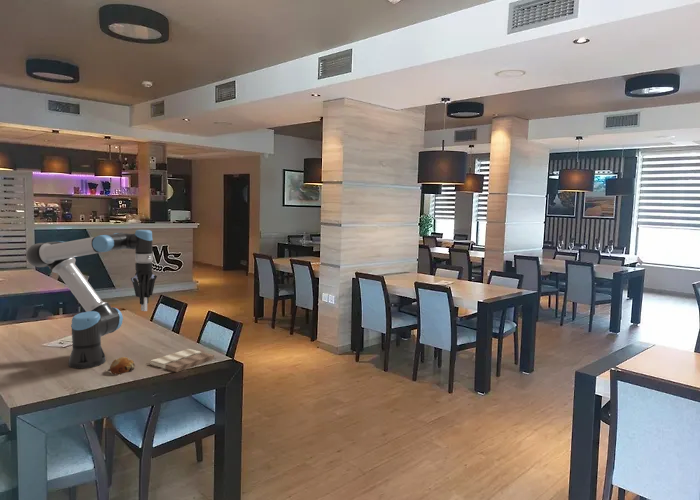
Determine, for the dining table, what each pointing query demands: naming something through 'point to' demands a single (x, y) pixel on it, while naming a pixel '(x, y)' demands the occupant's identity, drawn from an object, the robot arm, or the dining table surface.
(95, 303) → the robot arm
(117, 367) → the bread roll
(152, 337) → the dining table surface
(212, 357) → the walnut plank
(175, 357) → the cream corrugated panel
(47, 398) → the dining table surface
